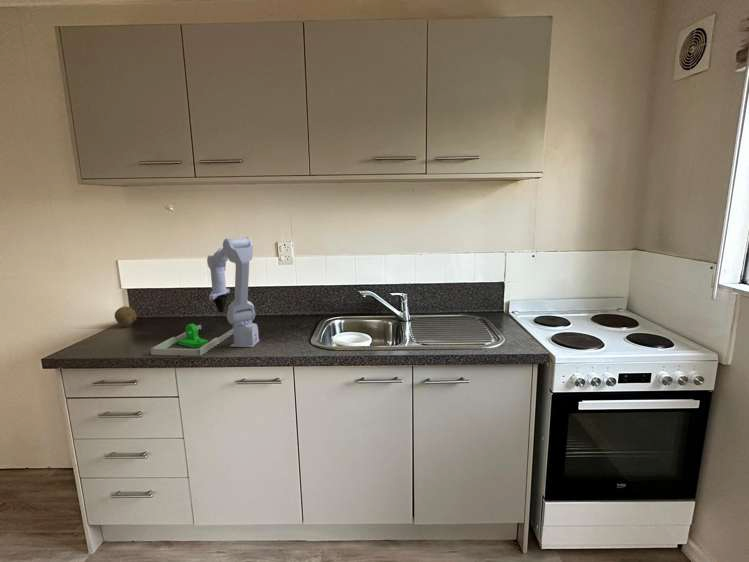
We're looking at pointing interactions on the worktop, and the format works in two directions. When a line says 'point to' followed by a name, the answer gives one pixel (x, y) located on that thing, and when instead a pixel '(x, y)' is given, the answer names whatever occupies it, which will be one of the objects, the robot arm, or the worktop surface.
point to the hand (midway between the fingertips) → (221, 311)
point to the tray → (163, 349)
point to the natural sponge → (125, 316)
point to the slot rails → (200, 328)
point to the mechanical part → (192, 338)
